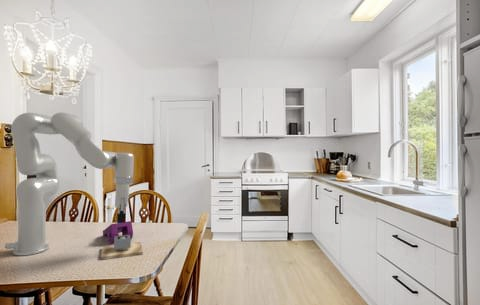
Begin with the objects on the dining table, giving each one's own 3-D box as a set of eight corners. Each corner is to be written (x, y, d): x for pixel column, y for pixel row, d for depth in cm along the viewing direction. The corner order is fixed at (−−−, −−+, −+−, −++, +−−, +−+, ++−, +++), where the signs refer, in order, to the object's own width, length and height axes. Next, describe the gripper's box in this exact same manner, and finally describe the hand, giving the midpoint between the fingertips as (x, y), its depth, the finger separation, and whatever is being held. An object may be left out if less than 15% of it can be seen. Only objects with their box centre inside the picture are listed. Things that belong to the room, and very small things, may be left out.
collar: (114, 249, 113) (114, 240, 113) (114, 245, 119) (114, 236, 119) (130, 247, 116) (130, 238, 116) (129, 243, 121) (129, 234, 121)
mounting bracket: (102, 249, 136) (113, 241, 125) (100, 233, 139) (111, 224, 127) (121, 245, 143) (134, 237, 131) (118, 229, 145) (131, 220, 134)
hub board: (100, 259, 107) (101, 244, 108) (102, 248, 120) (102, 235, 120) (142, 254, 114) (143, 240, 114) (140, 244, 127) (140, 231, 127)
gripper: (114, 178, 123) (111, 218, 123) (113, 182, 109) (111, 227, 109) (131, 179, 126) (129, 218, 126) (133, 182, 112) (130, 226, 112)
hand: (120, 222), depth 117 cm, fingers closed
